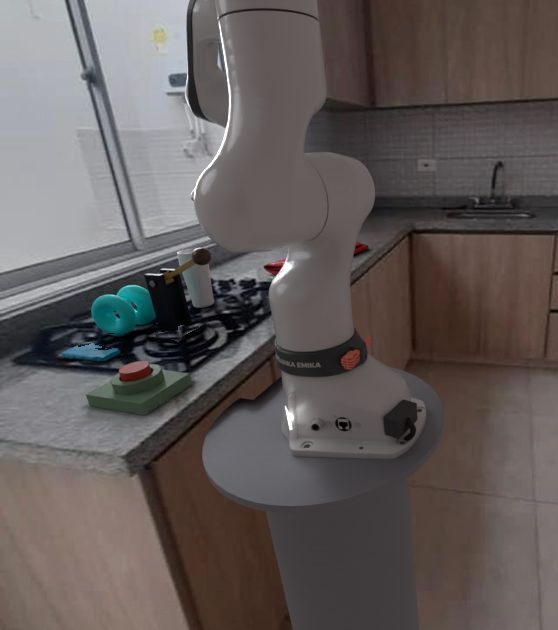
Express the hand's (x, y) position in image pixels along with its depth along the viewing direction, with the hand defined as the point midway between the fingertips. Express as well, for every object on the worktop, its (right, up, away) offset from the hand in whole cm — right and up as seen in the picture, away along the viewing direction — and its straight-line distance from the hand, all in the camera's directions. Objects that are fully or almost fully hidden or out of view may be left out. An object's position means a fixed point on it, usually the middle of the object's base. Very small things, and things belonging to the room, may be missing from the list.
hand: (211, 222), depth 91 cm
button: (-5, -29, -16) cm, 34 cm away
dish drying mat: (+7, 0, +69) cm, 69 cm away
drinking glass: (-15, -17, +28) cm, 36 cm away
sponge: (-25, -28, +1) cm, 38 cm away
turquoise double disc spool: (-25, -23, +14) cm, 37 cm away
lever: (-6, -11, +3) cm, 13 cm away
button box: (-5, -33, -15) cm, 36 cm away
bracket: (-12, -23, +10) cm, 28 cm away
